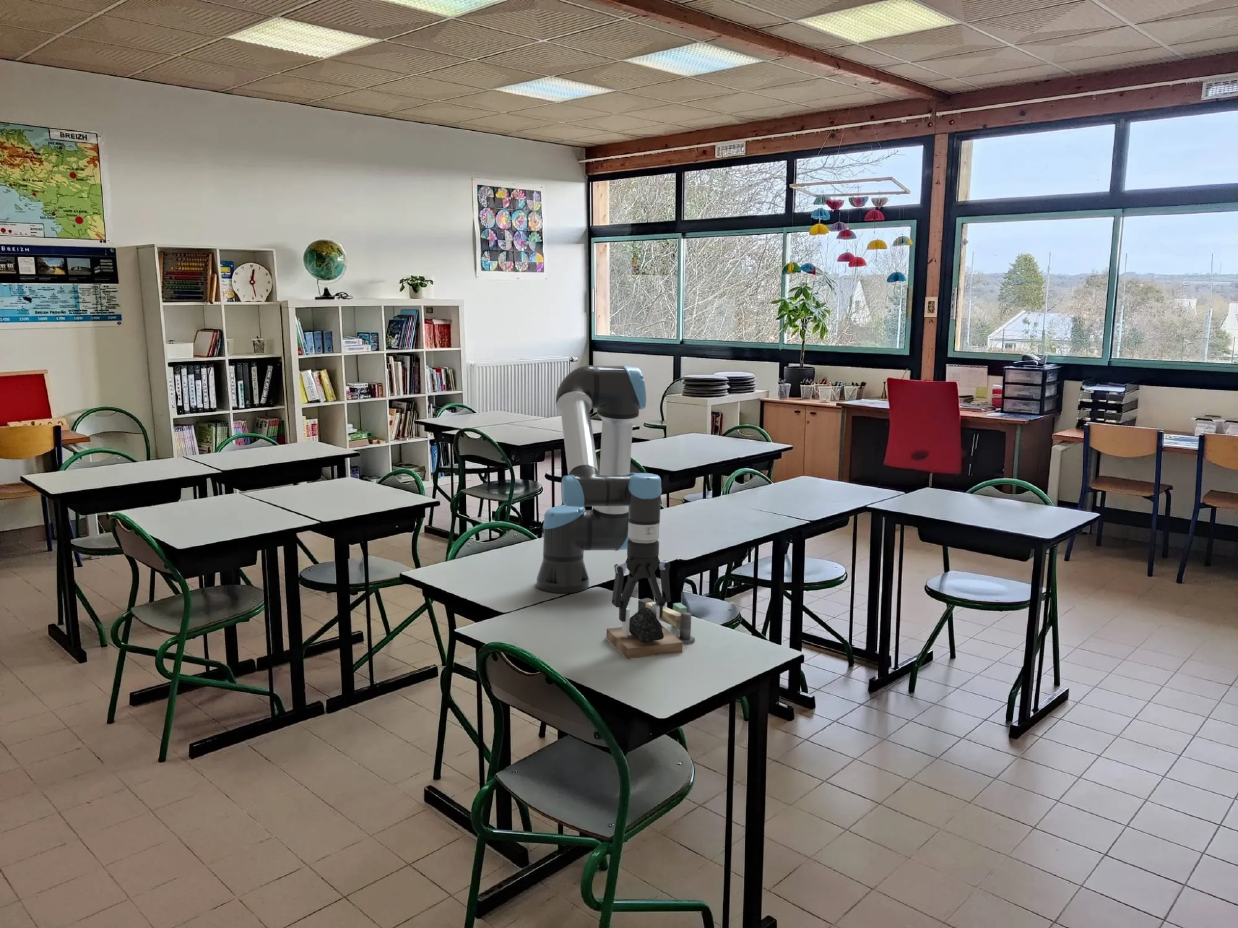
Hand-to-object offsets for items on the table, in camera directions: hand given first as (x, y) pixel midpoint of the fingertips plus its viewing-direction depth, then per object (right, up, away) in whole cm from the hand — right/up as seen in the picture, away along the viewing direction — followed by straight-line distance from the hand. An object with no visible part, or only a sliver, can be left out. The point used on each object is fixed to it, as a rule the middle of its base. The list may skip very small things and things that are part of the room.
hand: (640, 631), depth 225 cm
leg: (+5, +1, +12) cm, 13 cm away
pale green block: (+10, -1, +14) cm, 18 cm away
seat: (+4, -3, +2) cm, 5 cm away
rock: (+1, -1, -2) cm, 2 cm away
